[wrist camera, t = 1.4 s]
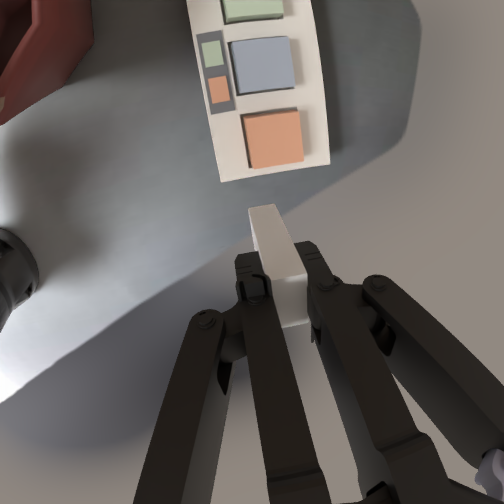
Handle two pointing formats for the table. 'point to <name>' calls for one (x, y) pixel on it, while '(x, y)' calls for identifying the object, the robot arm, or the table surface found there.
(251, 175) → the keypad
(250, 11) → the sage key
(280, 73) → the slate key
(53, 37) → the bucket
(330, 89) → the table surface
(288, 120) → the terracotta key
